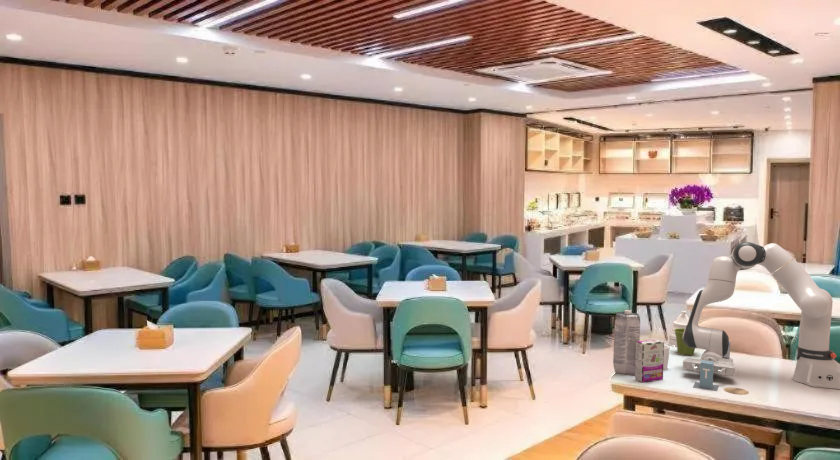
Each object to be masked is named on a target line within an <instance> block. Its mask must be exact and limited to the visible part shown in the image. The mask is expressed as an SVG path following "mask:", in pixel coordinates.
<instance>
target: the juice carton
mask: <svg viewBox="0 0 840 460" xmlns="http://www.w3.org/2000/svg"><path fill="white" fill-rule="evenodd" d="M613 331H614V333H613V357H612V360H613V361H612V363H613V369H614V373H615V374H619V375H620V374H621V375H632V376H635V360H636V342H637V341H641V340H640V335H641V316H640V313H633V312H632V310H630V309H625V310H624V312H621V311H618V312H616V314H615V318H614V330H613Z"/></svg>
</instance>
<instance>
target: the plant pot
mask: <svg viewBox="0 0 840 460" xmlns="http://www.w3.org/2000/svg"><path fill="white" fill-rule="evenodd" d="M684 330H685V329H674V331H675V335H676V340H677V347H676V349H677V353H678V354H680V355H682V356H693V355H695V351H696V348H689V347H688V346H687V345H686V344H685V343H684V342H683V333H684Z"/></svg>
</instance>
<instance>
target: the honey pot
mask: <svg viewBox="0 0 840 460" xmlns="http://www.w3.org/2000/svg"><path fill="white" fill-rule="evenodd" d="M689 318H690V316H689V315H687V311H686V310H681V311H680V314H679V315H678V316H677V317H676V319H675V320H674V321H672V324H673V325H672V327H671V330H670V332H669V334H668V345H670V346H671V345H675V348H677V340H676V335H675V331H674V329H685V328H686V326H687V324H688V321H689Z"/></svg>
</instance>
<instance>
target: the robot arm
mask: <svg viewBox="0 0 840 460" xmlns="http://www.w3.org/2000/svg"><path fill="white" fill-rule="evenodd" d="M710 265H711V266H710V269H709V273H708V280H707V283H706V285H705V287H704V288H703V289H700V290H699V291H698V293H697V295H696V297H695V300H694V302H693V307H692V309H691V312H690V315H689V321H688V324H687V326H686V328H685V330H684V333H683V342H684V343H685V344H686V345H687V346H688V347H689V348H695V349H699V350H700V349H701V350H704V352H702V354H701V357H700V358H695V357H686V358H685V359H683V360H682V361H683V362H682V368H683V369H685V370H688V371H693V372H700V365H701V361H702V360H704V361H712V362H714V367H713V375H719V376H722V375H725V376H731V377H732V376H734V377H735V376H736V364H735V362H734V360H733V358H731V357H730V358H726V357H723V356H725V355H726V354H727V351H728V347H729V341H730V337H729V335H728V334H727V332H726V331H725V330H723V329H718V328H713V327H712V328H711V327H706V326H705V327H704V326H700V325H699V321H700V318H701V315H702V312H703V309H704V308H705V307H706V306H708V305H711V304H715V303H719V302H724V301H727V300H728V299H730V298H731V297H732V296H733V295H734V293H735V289H736V282H737V275H738V272H739V271H744V270H745V271H746V270H750V269H752V268H754V267H755V266H757V265H758V266H762V267H764V268H765V269H766V270H767V271H768V272H769V273H770V274H771V276H772V277H773V278H774V279H775V280H776V281H777V282H778V283H779V285H780V286H782V288H783V289H784V290H785V291H786V292H787V294H788V295H789V297H790V298H791V299H792V301H793V302H794V303H795V304H796V306H797V307H798V308H799V309H800V310H801V313H800V314H801V315H800V320H799V331H798V333H799V334H798V345H797V347H796V355H795V356H796V364H795V369H794V372H793V375H792V377H791V379H792V380H794V381H796V382H798V383H801V384H805V385H807V386H809V387H814V388H825V389H834V390H840V363H839V362H838V361H837V360H836V358H837V354H836V353H835V352H834V351H833V350H831V349H830V337H831V336H830V335H831V325H832V314H833V297H832V295H831V294H830V293H829V292H828V291H827V290H825V289H823V288H820V287H819V286H818V284H816V282H815V281H814V280H813V279H812V277H811V276H810V274H809V273H808V272H807V271H806V270H805V269H804V267H802V265H801V264H799V262H798V261H797V260H796V259H795V258H794V257H793V256H792V255H791V254H790V253H789V252H788V251H787V250H786V249H784V248H783V247H782V246H780V245H779V244H778V243H774V242H772V243H767V244H765V245H764V246H762V245H759V244H756V243H754V242H752V241H751V242H750V241H743V242H740V243H738V244H737V245H736V246H735V247H734V248H733V250H732V252H731V253H730V255H728V256H727V255H726V256H725V255H722V256H717V257H715V258H714V259H713V261H712V263H711V264H710Z"/></svg>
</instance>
